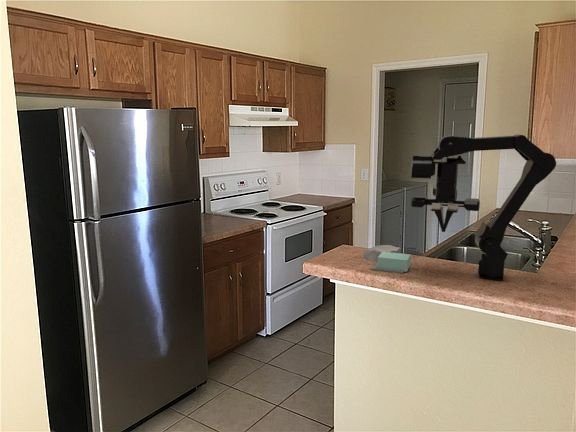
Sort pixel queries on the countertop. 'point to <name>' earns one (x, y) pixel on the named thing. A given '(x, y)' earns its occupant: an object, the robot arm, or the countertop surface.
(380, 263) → the slab
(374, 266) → the mat
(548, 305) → the countertop surface
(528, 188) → the robot arm
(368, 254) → the stone block
